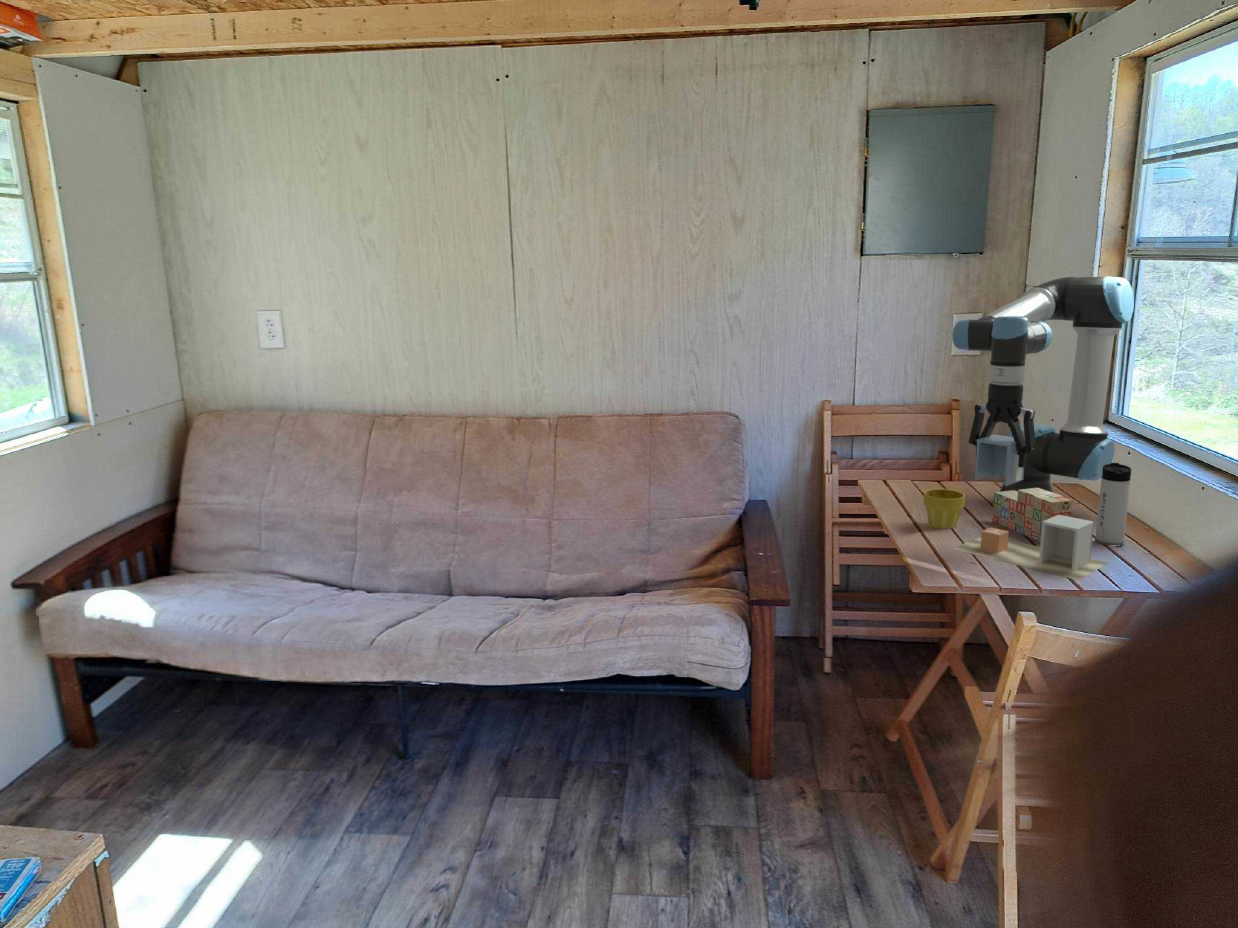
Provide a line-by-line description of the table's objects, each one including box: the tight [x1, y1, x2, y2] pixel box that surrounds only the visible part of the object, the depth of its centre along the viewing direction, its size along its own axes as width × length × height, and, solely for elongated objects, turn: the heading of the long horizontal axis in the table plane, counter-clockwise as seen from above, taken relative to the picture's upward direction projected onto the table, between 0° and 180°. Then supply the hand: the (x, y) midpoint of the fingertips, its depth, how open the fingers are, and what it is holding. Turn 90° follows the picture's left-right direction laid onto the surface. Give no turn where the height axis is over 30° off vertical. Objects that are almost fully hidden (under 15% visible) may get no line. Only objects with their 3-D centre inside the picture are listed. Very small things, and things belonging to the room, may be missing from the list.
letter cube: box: [980, 527, 1009, 553], centre depth 215 cm, size 4×4×5 cm
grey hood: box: [1039, 515, 1094, 571], centre depth 203 cm, size 8×8×10 cm
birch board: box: [952, 536, 1109, 581], centre depth 210 cm, size 16×30×1 cm, turn 40°
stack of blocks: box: [992, 488, 1073, 543], centre depth 227 cm, size 21×6×12 cm, turn 14°
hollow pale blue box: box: [974, 434, 1024, 486], centre depth 210 cm, size 8×8×10 cm
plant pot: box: [923, 488, 966, 530], centre depth 234 cm, size 10×10×10 cm
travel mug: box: [1094, 462, 1132, 547], centre depth 218 cm, size 6×7×20 cm
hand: (999, 476), depth 211 cm, fingers closed on hollow pale blue box, 8 cm apart
